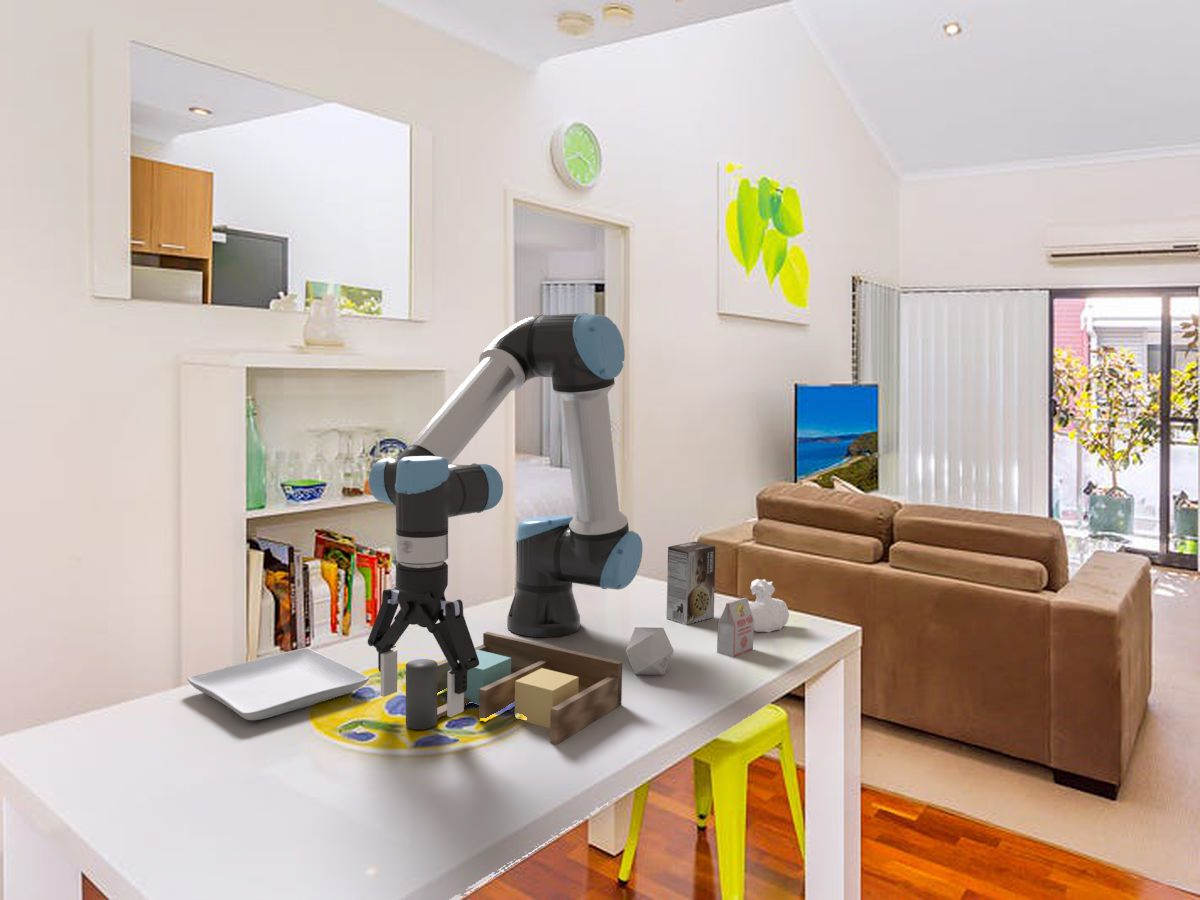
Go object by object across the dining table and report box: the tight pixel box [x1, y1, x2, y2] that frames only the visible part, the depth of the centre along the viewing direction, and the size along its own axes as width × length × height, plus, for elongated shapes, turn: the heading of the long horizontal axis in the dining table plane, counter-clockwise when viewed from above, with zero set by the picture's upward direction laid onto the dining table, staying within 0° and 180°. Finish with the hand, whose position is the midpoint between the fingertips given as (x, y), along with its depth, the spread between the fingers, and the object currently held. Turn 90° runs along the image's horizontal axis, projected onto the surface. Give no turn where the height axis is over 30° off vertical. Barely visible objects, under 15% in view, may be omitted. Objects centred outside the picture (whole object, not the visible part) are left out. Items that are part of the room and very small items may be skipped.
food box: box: [665, 541, 716, 625], centre depth 186 cm, size 9×6×16 cm
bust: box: [749, 578, 790, 633], centre depth 181 cm, size 12×8×11 cm
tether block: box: [405, 650, 511, 730], centre depth 133 cm, size 19×7×9 cm, turn 148°
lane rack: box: [436, 631, 623, 745], centre depth 136 cm, size 18×28×7 cm, turn 58°
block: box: [514, 668, 579, 729], centre depth 131 cm, size 7×7×6 cm
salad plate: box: [187, 647, 370, 721], centre depth 138 cm, size 21×21×3 cm
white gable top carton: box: [716, 597, 755, 658], centre depth 164 cm, size 4×7×10 cm, turn 137°
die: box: [625, 626, 675, 676], centre depth 152 cm, size 8×9×10 cm
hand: (421, 703), depth 127 cm, fingers open, 13 cm apart
